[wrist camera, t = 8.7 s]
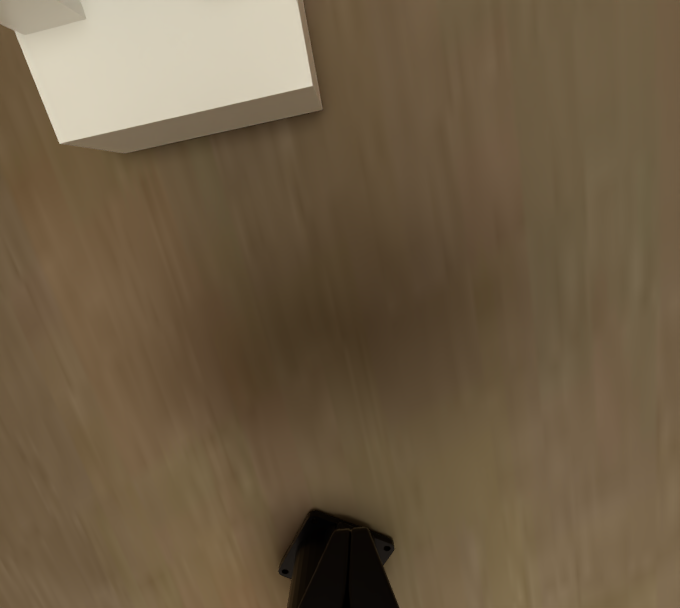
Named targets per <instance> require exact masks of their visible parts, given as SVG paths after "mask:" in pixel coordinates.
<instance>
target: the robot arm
mask: <svg viewBox="0 0 680 608" xmlns="http://www.w3.org/2000/svg"><path fill="white" fill-rule="evenodd" d="M393 551H394V542H393V540H392V539H390V538H388V537H385V536H382V535H380V534H377V533H374V532H372V531H369V529H368V528H367V527H358V526H356V525H353V524H351V523H348V522H345V521H343V520H340V519H337V518H335V517H332V516H329V515H327V514H324V513H321V512H319V511H311V512H310V513H309V514H308V516H307V517H306V519H305V521H304V523H303V524H302V526H301V528H300V530H299V531H298V533H297V535H296V537H295V538H294V540H293V542H292V544H291V545H290V547H289V549H288V551H287V552H286V554H285V556H284V558H283V559H282V561H281V563H280V566H279V571H278V572H279V574H280V575H282V576H284V577H287V578H290V579H292V580H291V586H290V592H289V598H288V604H287V608H399V605H398V603H397V600H396V598H395V595H394V593H393V590H392V588H391V585H390V582H389V580H388V577H387V575H386V572H385V570H384V567H383V565H384V564H385V562H386V561H387V559H388V558H389V557H390V555H391V554H392V552H393Z"/></svg>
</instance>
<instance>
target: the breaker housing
mask: <svg viewBox="0 0 680 608" xmlns="http://www.w3.org/2000/svg"><path fill="white" fill-rule="evenodd" d="M0 24H1V25H4V26H6V27H8V28H10V29H12V30H14V31H15V34H16V36H17V38H18V41H19V43H20V46H21V48H22V51H23V53H24V56H25V58H26V61H27V63H28V66H29V68H30V71H31V73H32V76H33V78H34V81H35V83H36V86H37V88H38V91H39V93H40V96H41V98H42V101H43V103H44V106H45V108H46V111H47V113H48V116H49V118H50V121H51V123H52V126H53V128H54V131H55V133H56V136H57V138H58V141H59V143H60V144H65V145H72V146H79V147H85V148H92V149H99V150H105V151H112V152H119V153H129V152H134V151H138V150H143V149H148V148H152V147H157V146H161V145H166V144H170V143H175V142H179V141H184V140H188V139H193V138H197V137H202V136H206V135H211V134H216V133H220V132H225V131H229V130H234V129H238V128H243V127H247V126H252V125H256V124H261V123H265V122H270V121H274V120H279V119H283V118H288V117H293V116H297V115H302V114H306V113H311V112H315V111H320V110H323V108H322V103H321V97H320V92H319V86H318V81H317V75H316V70H315V64H314V58H313V53H312V47H311V42H310V36H309V31H308V25H307V20H306V14H305V8H304V3H303V0H0Z"/></svg>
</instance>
